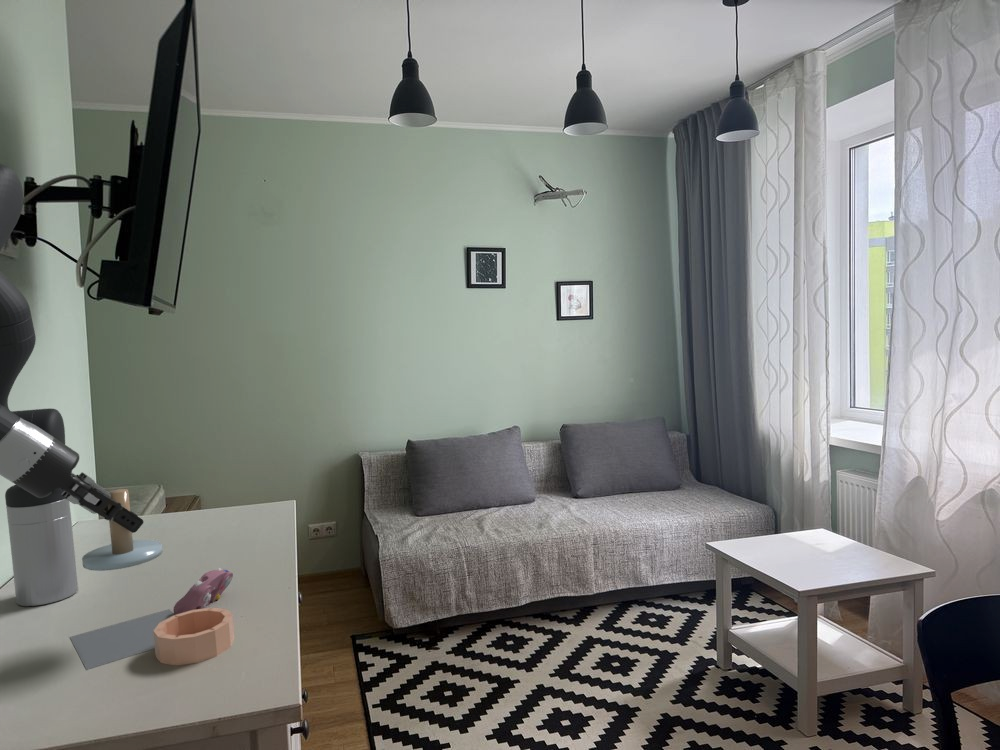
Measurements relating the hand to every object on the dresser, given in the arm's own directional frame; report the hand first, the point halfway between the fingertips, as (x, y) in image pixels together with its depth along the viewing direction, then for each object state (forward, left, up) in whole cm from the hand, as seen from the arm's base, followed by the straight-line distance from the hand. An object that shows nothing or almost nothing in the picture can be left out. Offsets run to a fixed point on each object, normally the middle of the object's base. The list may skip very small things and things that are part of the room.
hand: (135, 524), depth 104 cm
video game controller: (-5, +10, -17) cm, 21 cm away
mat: (0, -2, -17) cm, 17 cm away
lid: (0, -2, -5) cm, 5 cm away
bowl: (+11, +4, -17) cm, 21 cm away
